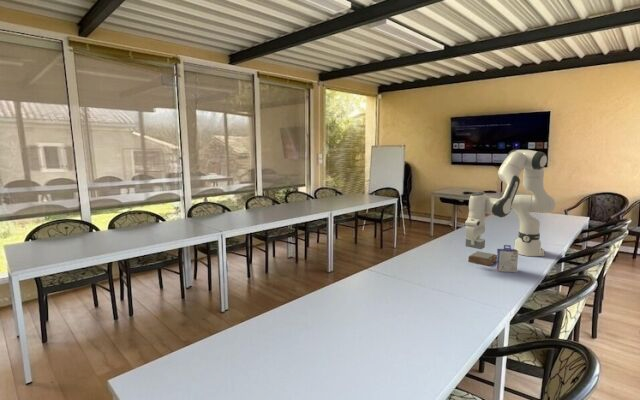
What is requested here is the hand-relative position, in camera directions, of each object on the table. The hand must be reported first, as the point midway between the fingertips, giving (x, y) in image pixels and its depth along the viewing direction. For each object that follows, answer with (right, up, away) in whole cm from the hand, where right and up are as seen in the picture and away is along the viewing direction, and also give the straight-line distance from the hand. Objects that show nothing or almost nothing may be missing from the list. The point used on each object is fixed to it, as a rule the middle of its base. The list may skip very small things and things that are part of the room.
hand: (475, 243), depth 204 cm
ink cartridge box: (+16, -15, -5) cm, 22 cm away
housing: (0, -2, 0) cm, 2 cm away
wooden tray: (+10, -13, +12) cm, 20 cm away
